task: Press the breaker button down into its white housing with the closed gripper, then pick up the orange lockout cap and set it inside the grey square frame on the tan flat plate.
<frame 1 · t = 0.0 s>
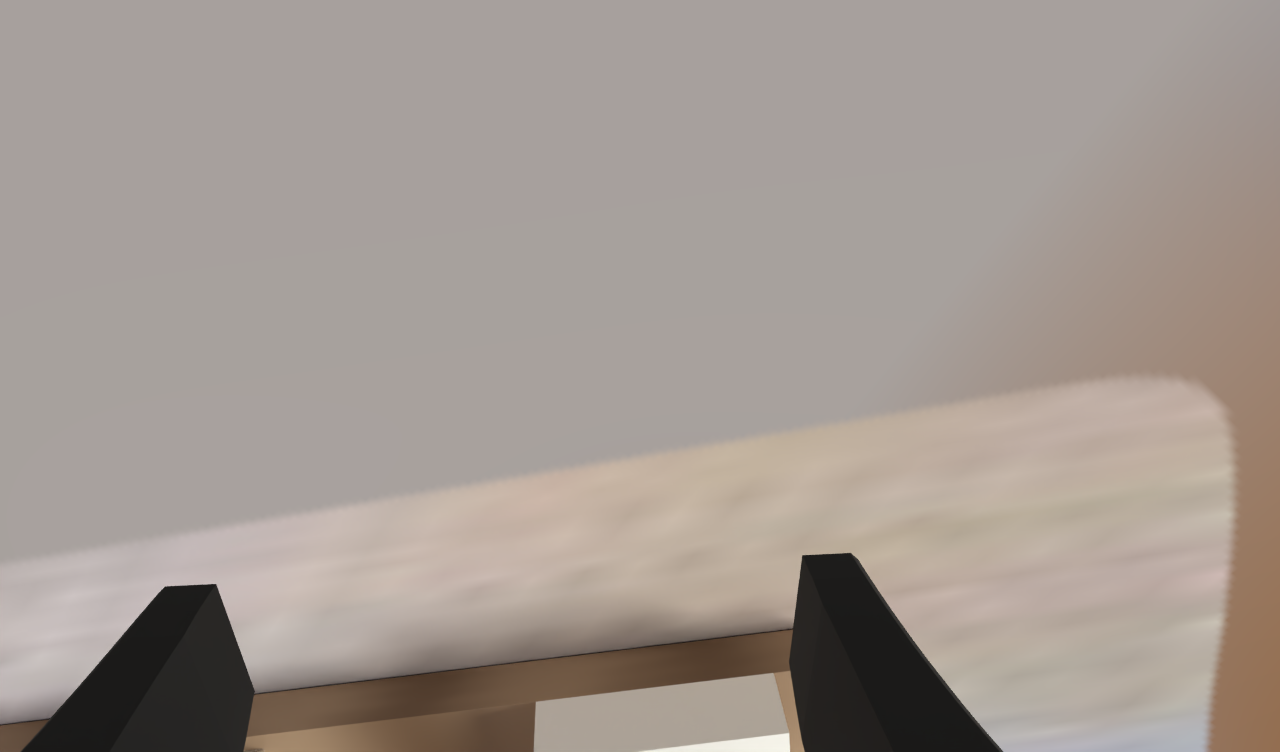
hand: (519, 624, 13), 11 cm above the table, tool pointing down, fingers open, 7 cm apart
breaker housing: (661, 730, 28), resting on tan flat plate
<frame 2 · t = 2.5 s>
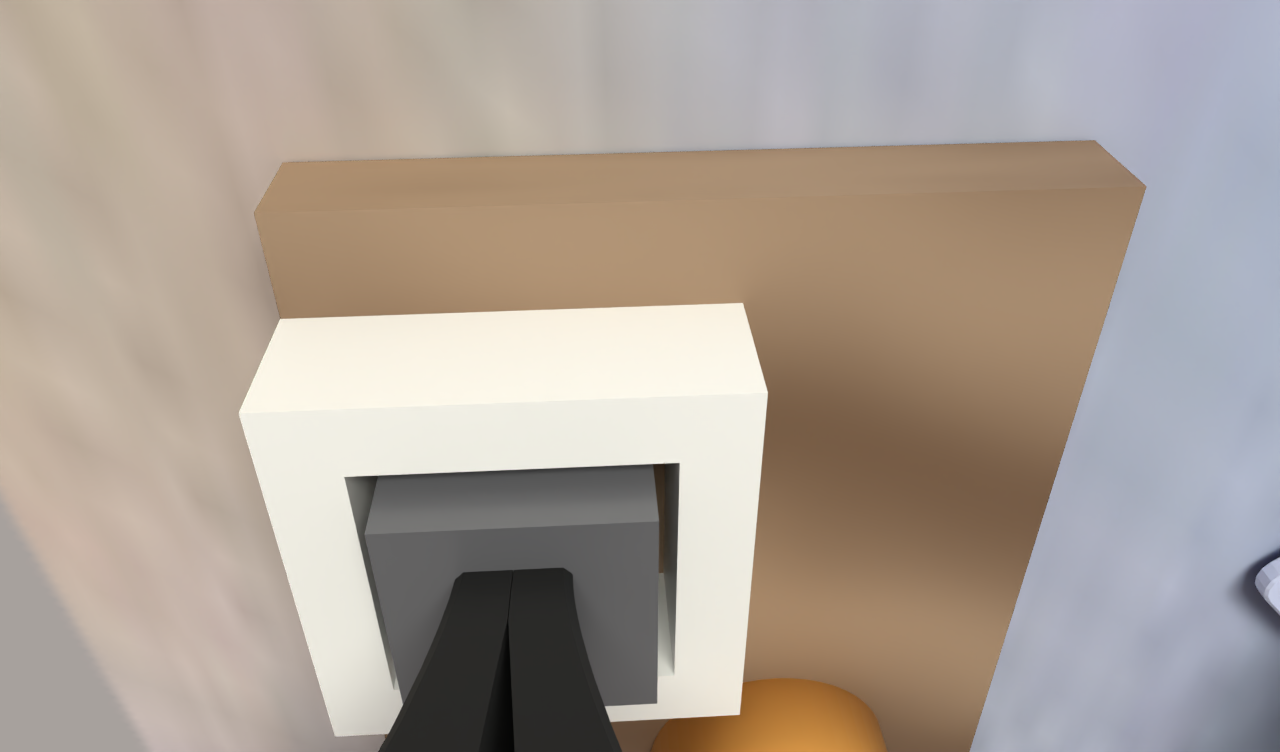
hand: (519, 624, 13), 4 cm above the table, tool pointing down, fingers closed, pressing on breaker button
breaker button: (526, 557, 14), point 3 cm above the table, slide at 1.4 cm, touching gripper
tan flat plate: (680, 690, 20), on the table
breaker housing: (532, 421, 16), resting on tan flat plate
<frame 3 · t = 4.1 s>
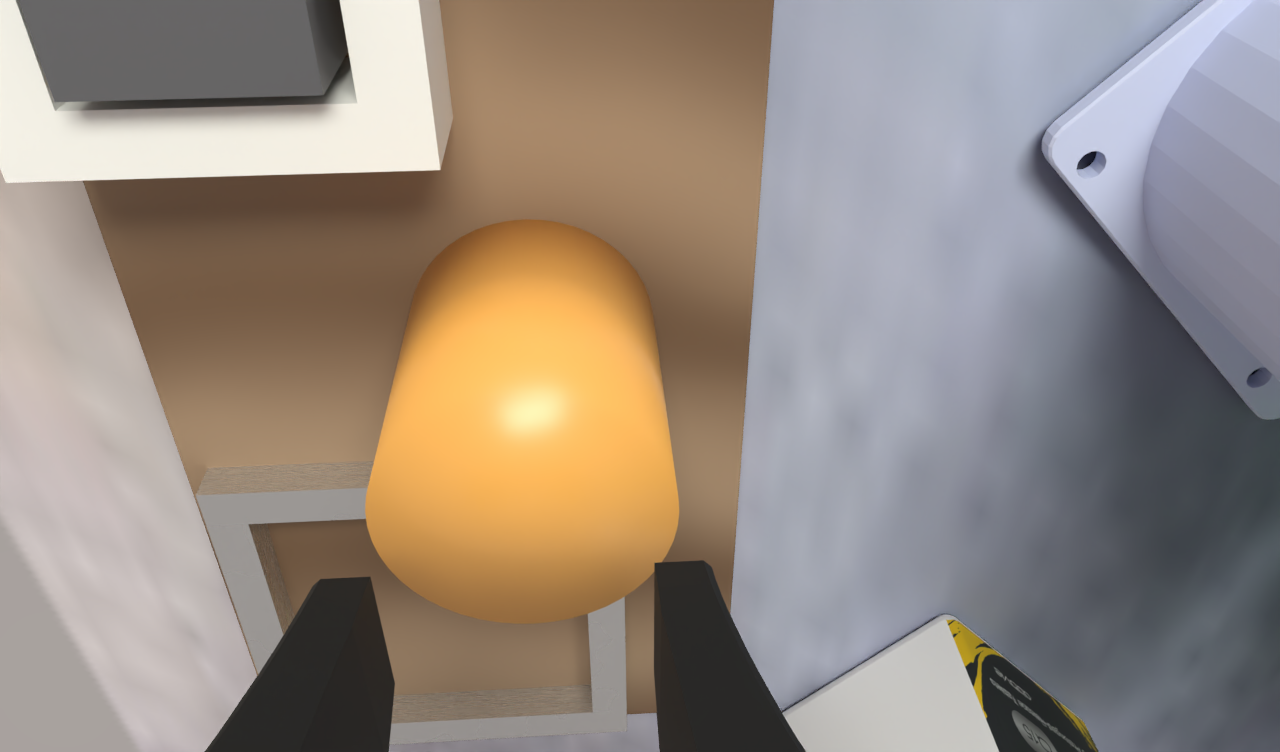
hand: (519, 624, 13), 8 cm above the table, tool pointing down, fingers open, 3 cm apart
grey square frame: (447, 550, 23), resting on tan flat plate
tan flat plate: (457, 289, 19), on the table
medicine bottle: (911, 718, 29), on the table
lockout cap: (533, 328, 18), point 1 cm above the table, touching tan flat plate
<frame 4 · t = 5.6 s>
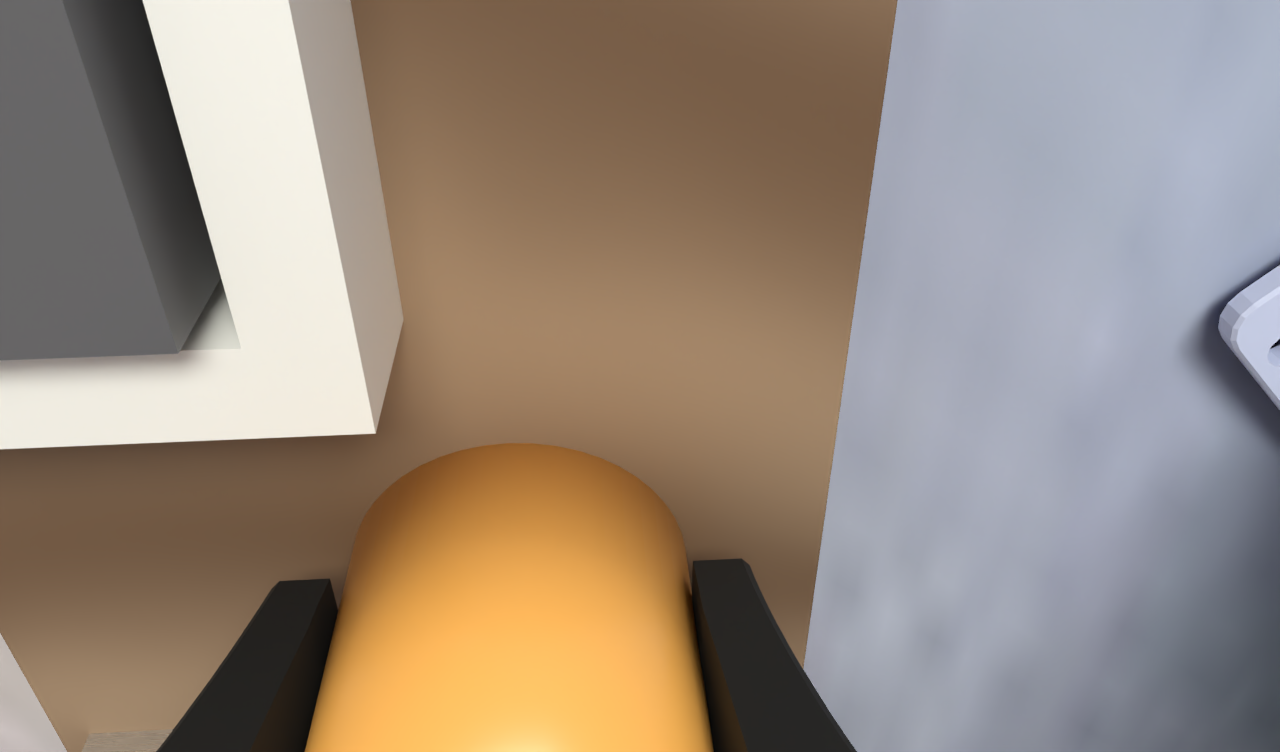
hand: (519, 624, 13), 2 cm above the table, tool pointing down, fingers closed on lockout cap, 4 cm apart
tan flat plate: (421, 499, 14), on the table
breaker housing: (86, 5, 10), resting on tan flat plate
lockout cap: (521, 571, 13), point 1 cm above the table, touching tan flat plate, gripper
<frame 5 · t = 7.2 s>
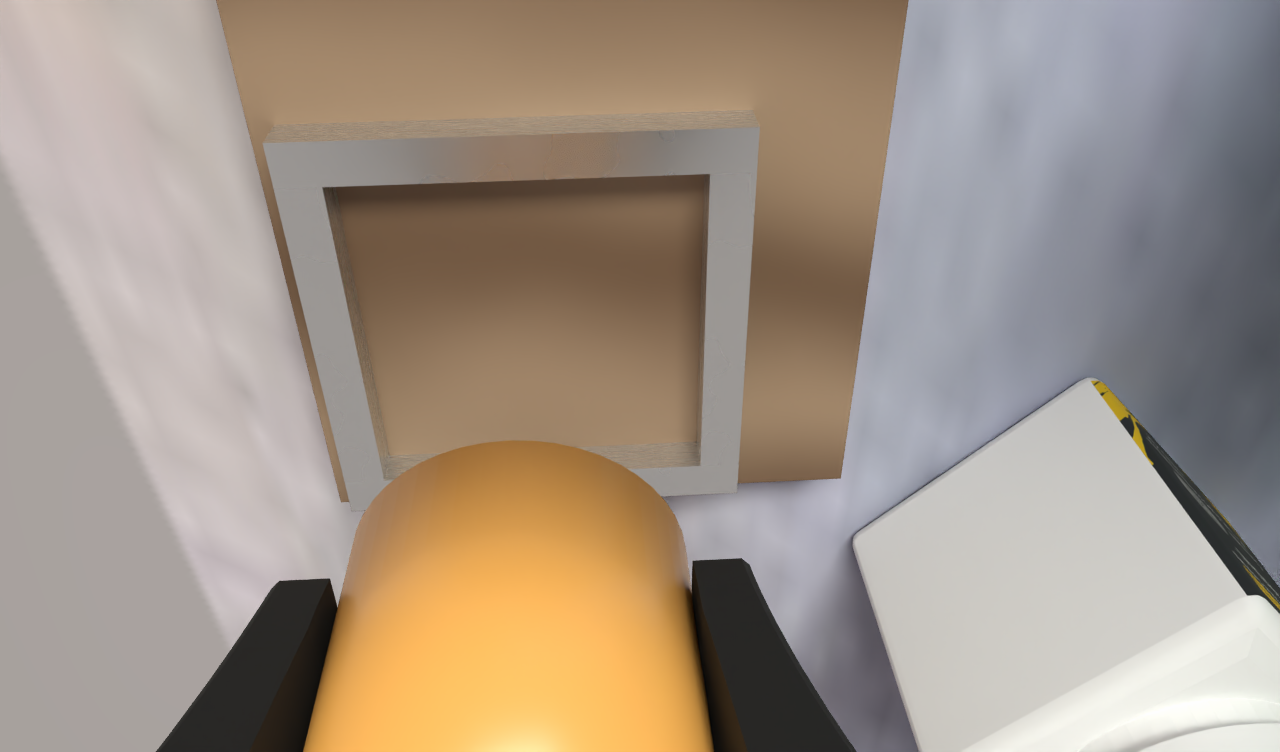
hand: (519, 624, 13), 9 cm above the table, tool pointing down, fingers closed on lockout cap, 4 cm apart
grey square frame: (535, 280, 21), resting on tan flat plate
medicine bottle: (1034, 520, 26), on the table
lockout cap: (521, 569, 13), point 9 cm above the table, touching gripper
when the fingers open (4 cm above the table, at t = 8.8 s): lockout cap drops 1 cm, resting on tan flat plate.
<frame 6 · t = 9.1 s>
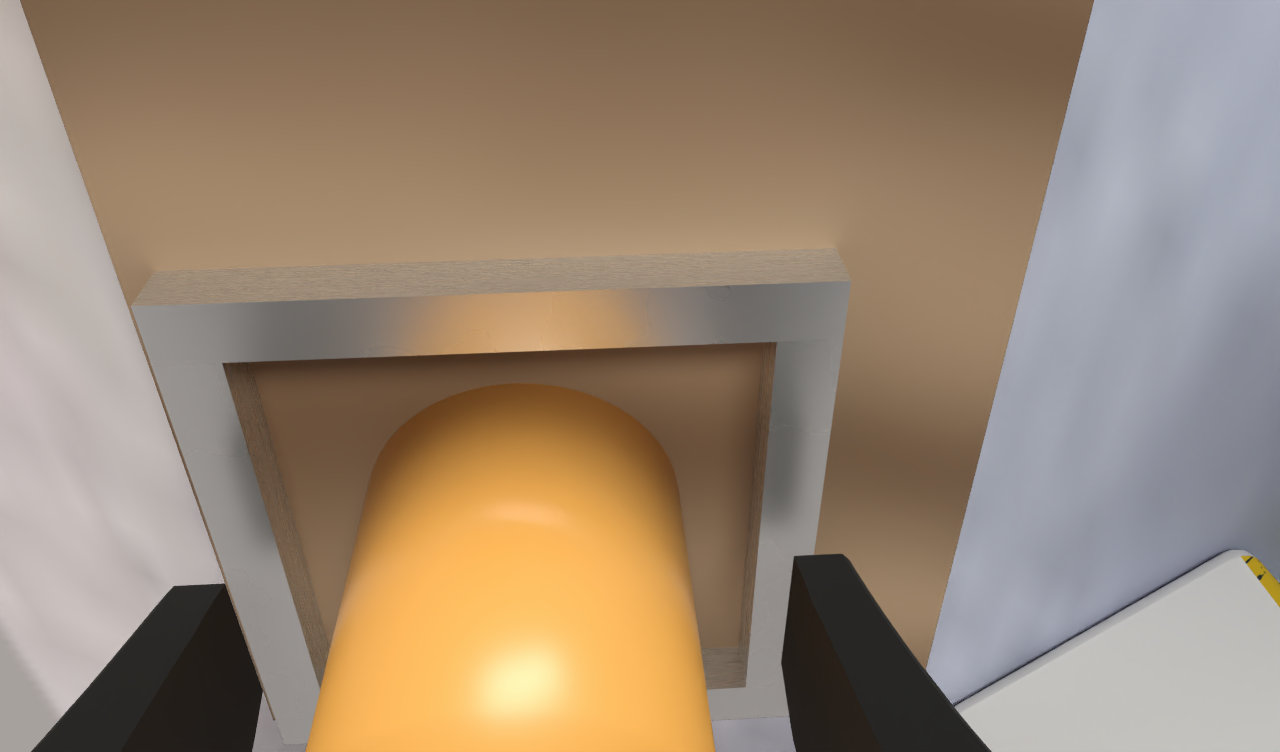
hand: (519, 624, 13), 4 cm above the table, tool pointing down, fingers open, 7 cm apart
grey square frame: (527, 442, 15), resting on tan flat plate
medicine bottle: (1145, 702, 21), on the table
lockout cap: (525, 507, 14), point 1 cm above the table, touching tan flat plate
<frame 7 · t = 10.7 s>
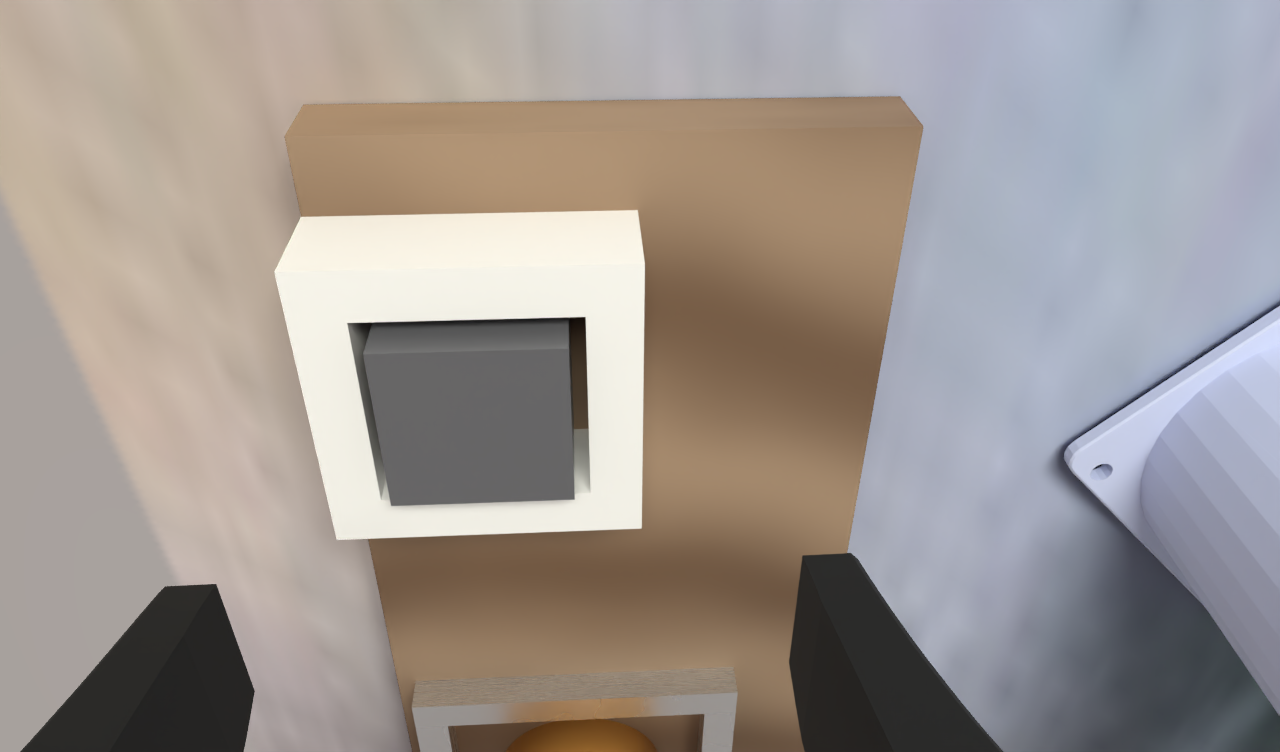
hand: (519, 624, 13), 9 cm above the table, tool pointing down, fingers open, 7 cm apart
breaker button: (480, 391, 19), point 3 cm above the table, slide at 1.6 cm
grey square frame: (579, 720, 29), resting on tan flat plate
tan flat plate: (611, 547, 25), on the table
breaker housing: (489, 312, 21), resting on tan flat plate
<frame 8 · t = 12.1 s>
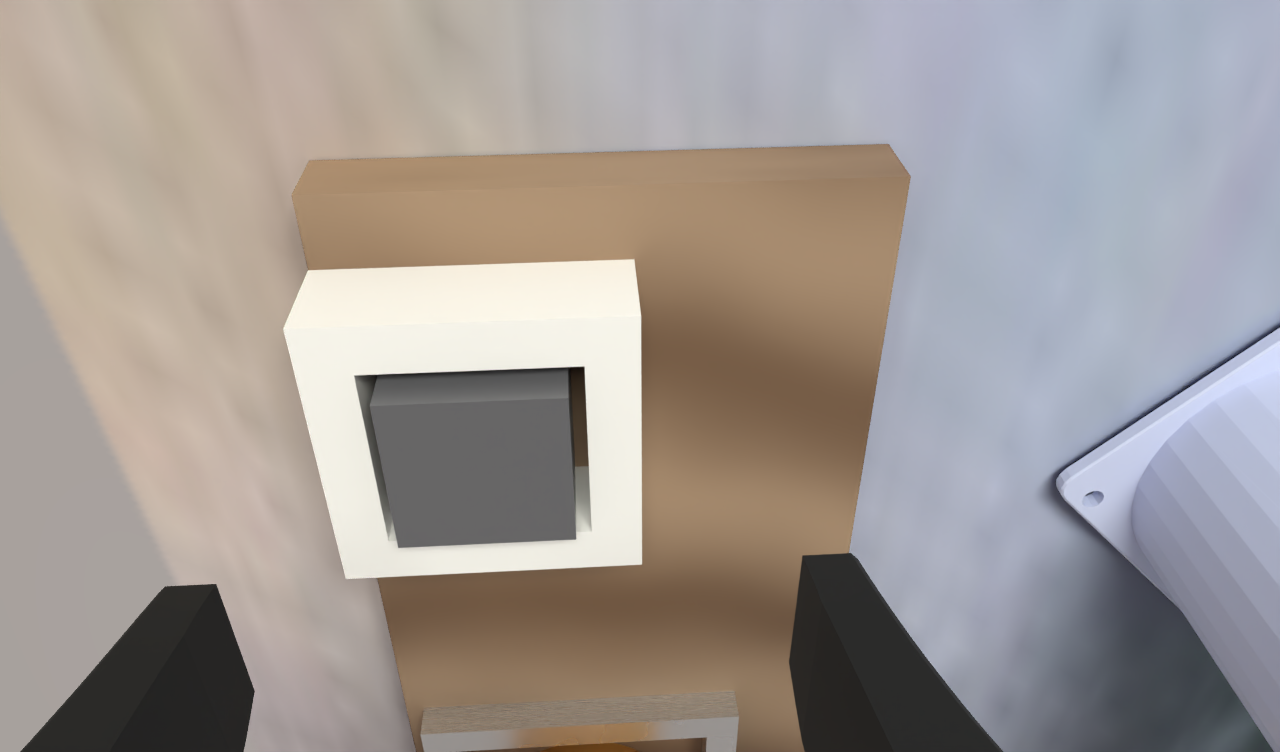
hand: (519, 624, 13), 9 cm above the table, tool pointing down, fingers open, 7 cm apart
breaker button: (483, 435, 19), point 3 cm above the table, slide at 1.6 cm
grey square frame: (584, 742, 30), resting on tan flat plate
tan flat plate: (614, 575, 26), on the table
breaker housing: (491, 353, 21), resting on tan flat plate
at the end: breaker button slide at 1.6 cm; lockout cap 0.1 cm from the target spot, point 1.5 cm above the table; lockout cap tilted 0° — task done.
